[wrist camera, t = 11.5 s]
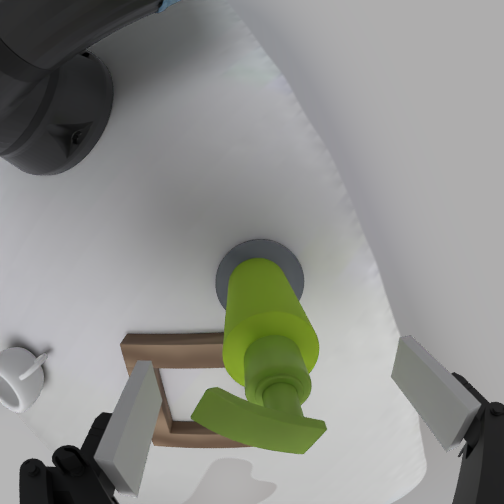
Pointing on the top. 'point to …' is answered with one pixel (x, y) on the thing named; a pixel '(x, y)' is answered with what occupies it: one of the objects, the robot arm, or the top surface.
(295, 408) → the soap dispenser
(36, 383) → the mug
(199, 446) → the pocket frame
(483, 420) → the robot arm
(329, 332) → the top surface
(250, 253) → the coaster
